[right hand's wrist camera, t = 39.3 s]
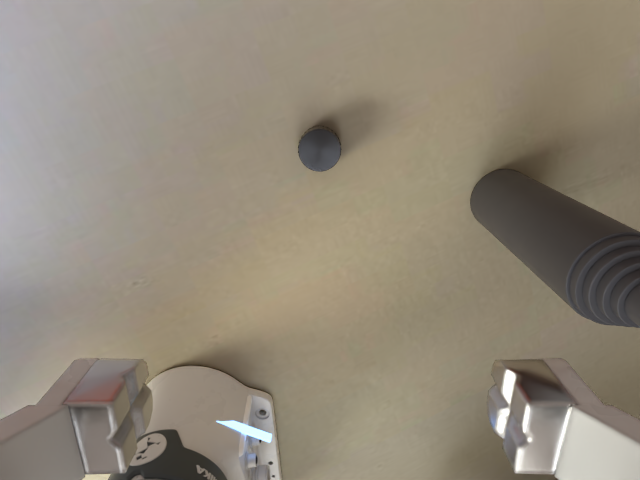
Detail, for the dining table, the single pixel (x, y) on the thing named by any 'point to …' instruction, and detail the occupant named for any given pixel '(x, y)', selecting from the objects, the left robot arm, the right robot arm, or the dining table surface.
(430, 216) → the dining table surface
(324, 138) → the cap
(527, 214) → the bottle
